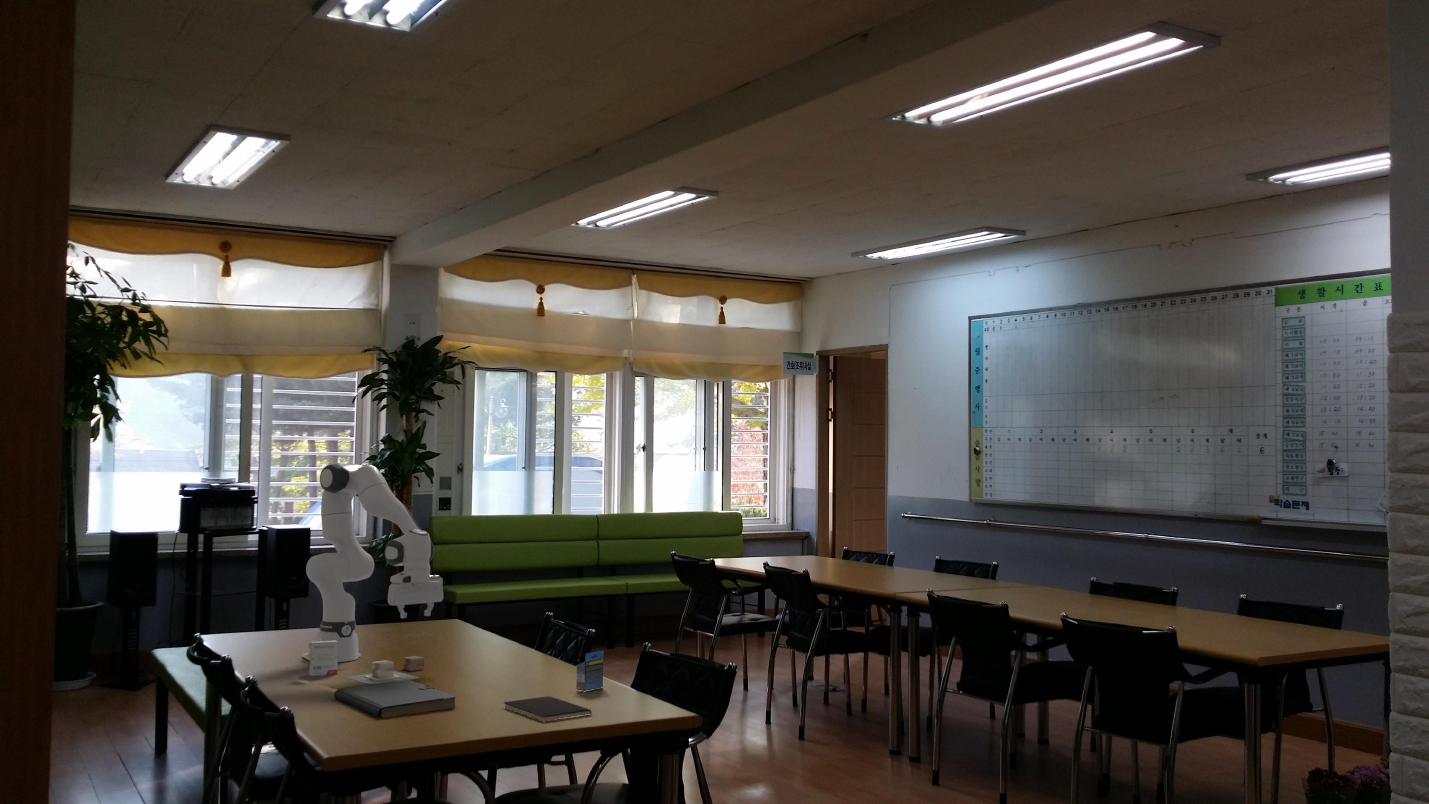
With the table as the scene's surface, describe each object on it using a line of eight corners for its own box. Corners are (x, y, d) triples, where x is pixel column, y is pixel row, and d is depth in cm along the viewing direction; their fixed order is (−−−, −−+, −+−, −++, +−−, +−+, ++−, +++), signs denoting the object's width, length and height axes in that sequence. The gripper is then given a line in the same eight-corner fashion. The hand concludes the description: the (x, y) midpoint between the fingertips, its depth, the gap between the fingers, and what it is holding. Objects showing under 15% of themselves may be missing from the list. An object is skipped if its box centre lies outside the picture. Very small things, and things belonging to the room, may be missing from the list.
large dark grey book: (456, 695, 319) (377, 706, 303) (456, 709, 318) (377, 721, 303) (409, 678, 344) (334, 688, 328) (409, 691, 344) (333, 701, 328)
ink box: (335, 674, 367) (337, 639, 368) (337, 677, 362) (338, 641, 363) (308, 676, 363) (310, 640, 364) (310, 679, 359) (311, 642, 360)
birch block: (371, 677, 358) (372, 662, 358) (385, 675, 362) (386, 660, 362) (379, 679, 355) (380, 663, 355) (393, 677, 358) (393, 662, 359)
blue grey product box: (594, 687, 353) (595, 648, 354) (603, 688, 350) (604, 650, 351) (575, 691, 346) (576, 652, 346) (584, 692, 343) (585, 653, 344)
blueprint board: (343, 680, 358) (343, 675, 358) (392, 673, 371) (392, 669, 371) (371, 687, 345) (372, 683, 345) (421, 680, 358) (421, 676, 359)
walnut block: (403, 672, 374) (403, 657, 375) (415, 670, 378) (416, 655, 378) (411, 674, 371) (411, 659, 371) (423, 672, 375) (424, 657, 375)
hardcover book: (542, 724, 301) (543, 716, 301) (503, 709, 319) (503, 702, 319) (591, 717, 311) (591, 709, 311) (550, 703, 329) (550, 695, 329)
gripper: (437, 574, 386) (436, 613, 385) (386, 577, 371) (384, 618, 370) (447, 575, 382) (446, 615, 381) (395, 578, 367) (394, 620, 366)
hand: (415, 616), depth 376 cm, fingers open, 8 cm apart
